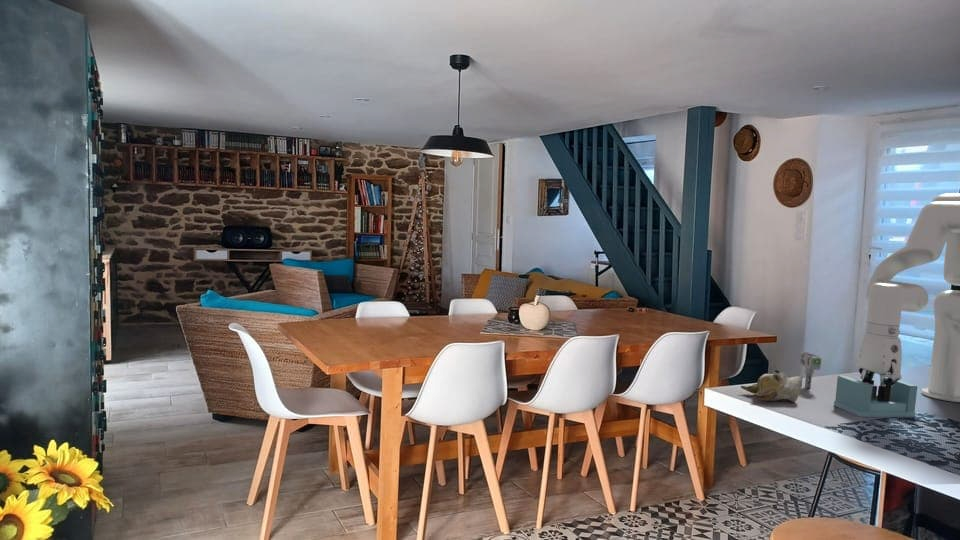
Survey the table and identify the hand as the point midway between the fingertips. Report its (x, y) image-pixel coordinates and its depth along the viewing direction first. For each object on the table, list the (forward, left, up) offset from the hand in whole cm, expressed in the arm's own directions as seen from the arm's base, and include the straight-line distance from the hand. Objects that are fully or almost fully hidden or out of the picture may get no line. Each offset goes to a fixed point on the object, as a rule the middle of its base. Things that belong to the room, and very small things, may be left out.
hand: (874, 397), depth 178 cm
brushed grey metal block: (+3, 0, -3) cm, 4 cm away
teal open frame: (0, 0, -4) cm, 4 cm away
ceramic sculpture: (+23, -10, -4) cm, 25 cm away
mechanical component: (+3, -23, -4) cm, 24 cm away
